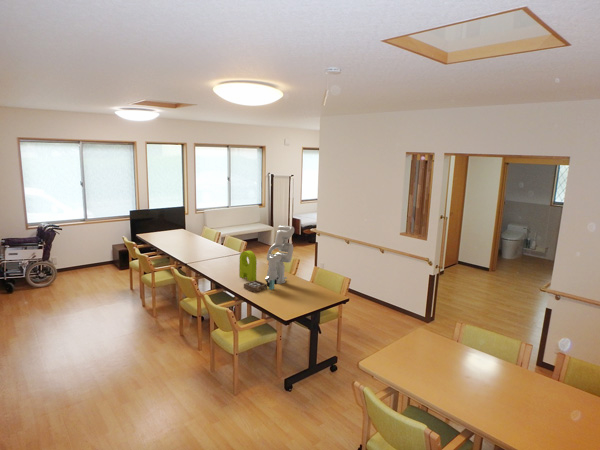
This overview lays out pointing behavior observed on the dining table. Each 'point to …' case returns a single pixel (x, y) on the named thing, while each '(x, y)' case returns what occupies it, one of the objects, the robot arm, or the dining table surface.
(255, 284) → the walled box
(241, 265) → the decorative object
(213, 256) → the dining table surface
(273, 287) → the connector
